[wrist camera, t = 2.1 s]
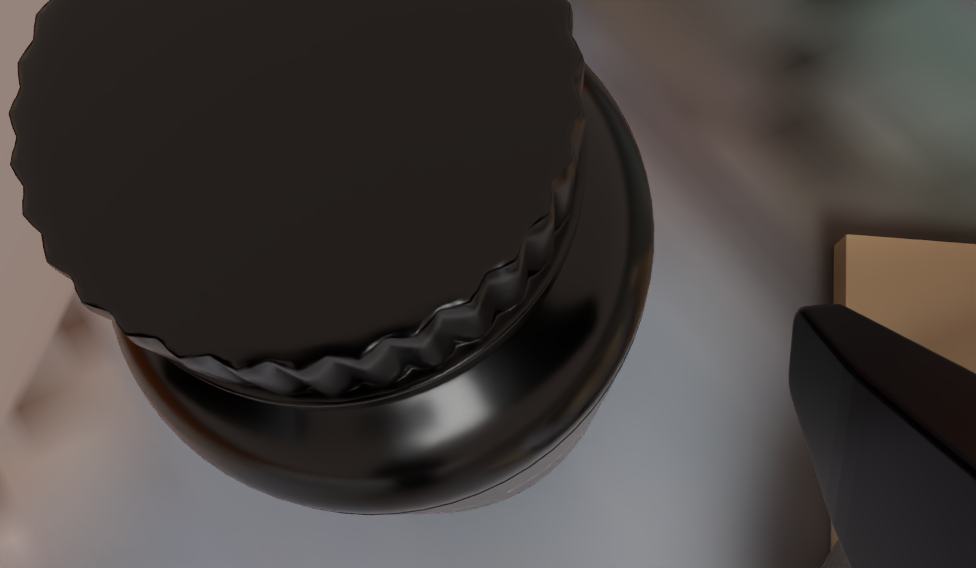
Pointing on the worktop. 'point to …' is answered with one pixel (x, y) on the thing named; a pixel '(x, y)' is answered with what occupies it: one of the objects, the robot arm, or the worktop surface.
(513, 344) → the supplement bottle
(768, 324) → the worktop surface
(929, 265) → the oak board
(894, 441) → the robot arm
